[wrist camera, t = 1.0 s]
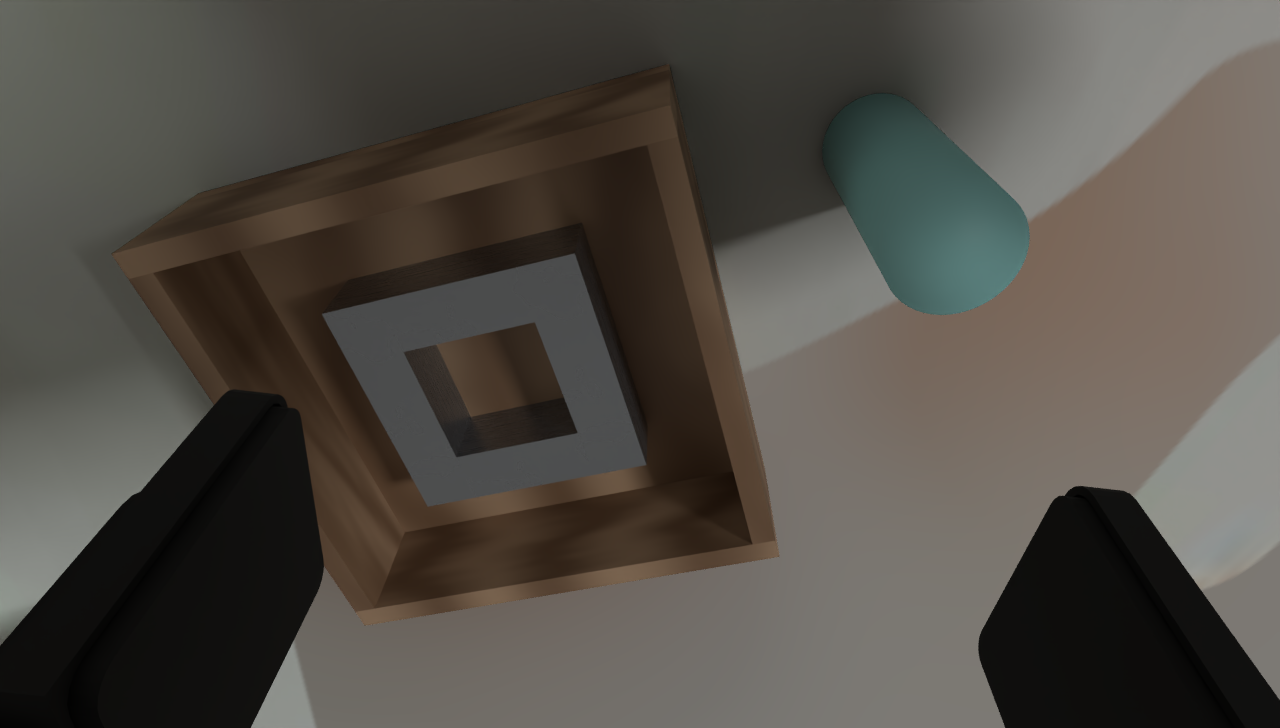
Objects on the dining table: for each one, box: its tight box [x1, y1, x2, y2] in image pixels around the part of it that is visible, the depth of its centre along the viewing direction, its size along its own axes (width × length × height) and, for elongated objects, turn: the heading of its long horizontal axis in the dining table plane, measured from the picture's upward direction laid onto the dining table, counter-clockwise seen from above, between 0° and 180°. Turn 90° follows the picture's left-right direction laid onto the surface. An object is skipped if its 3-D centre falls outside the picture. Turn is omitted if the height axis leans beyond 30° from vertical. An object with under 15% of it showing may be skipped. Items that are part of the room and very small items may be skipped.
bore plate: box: [322, 222, 648, 507], centre depth 33 cm, size 10×10×3 cm
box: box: [112, 64, 779, 625], centre depth 33 cm, size 20×20×6 cm
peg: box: [822, 93, 1029, 315], centre depth 26 cm, size 4×4×10 cm
